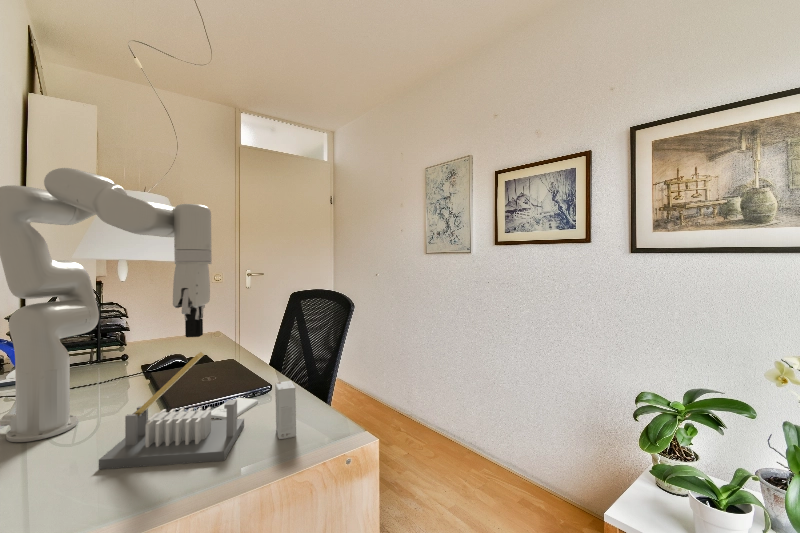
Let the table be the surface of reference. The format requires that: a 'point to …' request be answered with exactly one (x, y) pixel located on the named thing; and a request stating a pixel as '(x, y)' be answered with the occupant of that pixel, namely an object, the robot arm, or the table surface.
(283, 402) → the skincare box
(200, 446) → the cooler base
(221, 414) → the external hard drive
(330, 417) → the table surface
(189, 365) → the bar
